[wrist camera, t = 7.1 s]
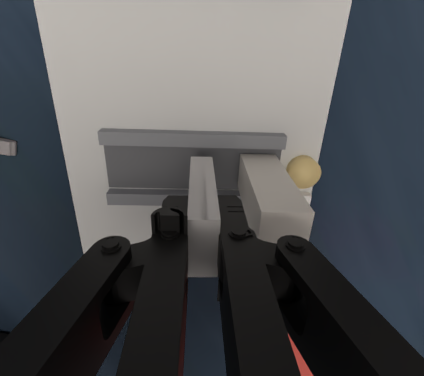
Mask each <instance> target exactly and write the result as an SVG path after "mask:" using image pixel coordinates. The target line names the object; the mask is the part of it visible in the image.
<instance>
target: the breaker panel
mask: <svg viewBox="0 0 424 376" xmlns="http://www.w3.org/2000/svg"><path fill="white" fill-rule="evenodd" d="M351 3H352V0H34V5H35V10H36V15H37V20H38V25H39V30H40V35H41V40H42V45H43V50H44V55H45V61H46V66H47V71H48V76H49V81H50V86H51V91H52V96H53V101H54V106H55V111H56V116H57V122H58V127H59V132H60V137H61V142H62V147H63V152H64V157H65V162H66V167H67V172H68V178H69V183H70V188H71V193H72V198H73V203H74V208H75V213H76V218H77V223H78V228H79V233H80V239H81V244H82V249H83V254H85V253H86V252H87V251H88V249H89V248H90V247H91V246H92V245H93V244H94V243H96V242H97V241H98V240H100V239H102V238H105V237H108V236H122V237H125V238H127V239H128V240H129V241H130V244H134V243H139V242H142V241H145V240H147V239H149V238H151V236H152V227H151V214H152V213H153V211H155V210H157V209H159V208H162V203H163V200H164V199H165V198H166V197H167V196H168V195H189V178H190V162H191V157H212V158H213V166H214V173H215V181H216V188H217V195H236V196H237V197H238V198H239V199H240V200H241V196H240V193H239V189H238V176H239V164H240V154H273V155H276V156H277V158H278V159H279V161H280V162H281V164H282V165H283V166H284V168H285V169H286V171H287V172H288V174H289V175H290V177H291V178H292V180H293V181H294V183H295V184H296V186H297V187H298V189H299V190H300V192H301V193H302V195H303V196H304V197H305V199H306V200H307V202H308V203H309V205H310V202H311V197H312V195H311V193H312V188H313V185H315V184H316V183H317V182H318V180H319V179H320V176H321V168H320V166H319V164H318V159H319V155H320V150H321V145H322V140H323V136H324V131H325V126H326V121H327V117H328V112H329V107H330V102H331V98H332V93H333V88H334V83H335V79H336V74H337V69H338V64H339V60H340V55H341V50H342V45H343V41H344V36H345V31H346V26H347V22H348V17H349V12H350V7H351ZM241 201H242V200H241Z"/></svg>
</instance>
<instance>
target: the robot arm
mask: <svg viewBox="0 0 424 376" xmlns="http://www.w3.org/2000/svg"><path fill="white" fill-rule="evenodd" d="M151 227H152V236H151V238H149V239H147V240H145V241H142V242H139V243H134V244H130V241H129V240H128V239H127V238H125V237H122V236H108V237H105V238H102V239H100V240H98V241H97V242H96V243H94V244H93V245H92V246H91V247H90V248H89V249H88V251H87V252H86V253H85V254H84V255H83V256H82V257H81V258H80V259H79V260H78V261H77V262H76V263H75V264H74V265H73V266H72V268H71V269H70V270H69V271H68V272H67V273H66V274H65V275H64V276H63V277H62V278H61V279H60V280H59V281H58V282H57V284H56V285H55V286H54V287H53V288H52V289H51V290H50V291H49V292H48V293H47V294H46V295H45V296H44V297H43V298H42V299H41V301H40V302H39V303H38V304H37V305H36V306H35V307H34V308H33V309H32V310H31V311H30V312H29V313H28V314H27V315H26V317H25V318H24V319H23V320H22V321H21V322H20V323H19V324H18V325H17V326H16V327H15V328H14V329H13V330H12V331H11V333H10V334H5V333H0V376H96V374H97V372H98V370H99V369H100V367H101V365H102V363H103V361H104V360H105V358H106V356H107V354H108V353H109V351H110V349H111V347H112V345H113V344H114V342H115V340H116V338H117V336H118V335H119V333H120V331H121V329H122V327H123V326H124V324H125V322H126V320H127V319H128V317H129V315H130V313H131V311H132V310H133V311H132V315H131V318H130V322H129V326H128V330H127V334H126V338H125V342H124V346H123V350H122V354H121V358H120V362H119V365H118V369H117V373H116V376H183V368H184V349H185V330H186V312H187V293H188V277H219V281H218V298H217V301H220V311H221V321H222V332H223V342H224V352H225V363H226V373H227V376H301V374H300V370H299V367H298V364H297V361H296V358H295V355H294V352H293V349H292V345H291V342H290V339H289V336H290V338H291V339H292V341H293V343H294V344H295V346H296V348H297V349H298V351H299V353H300V354H301V356H302V358H303V359H304V361H305V363H306V364H307V366H308V368H309V369H310V371H311V373H312V374H313V376H424V358H423V357H422V356H421V355H420V354H419V353H418V352H417V351H416V350H415V349H414V348H413V347H412V346H411V345H410V344H409V343H408V342H407V341H406V340H405V339H404V338H403V337H402V336H401V335H400V334H399V333H398V331H397V330H396V329H395V328H394V327H393V326H392V325H391V324H390V323H389V322H388V321H387V320H386V319H385V318H384V317H383V316H382V315H381V314H380V313H379V312H378V311H377V310H376V309H375V308H374V307H373V306H372V305H371V304H370V303H369V302H368V301H367V300H366V299H365V298H364V297H363V296H362V295H361V294H360V293H359V292H358V291H357V289H356V288H355V287H354V286H353V285H352V284H351V283H350V282H349V281H348V280H347V279H346V278H345V277H344V276H343V275H342V274H341V273H340V272H339V271H338V270H337V269H336V268H335V267H334V266H333V265H332V264H331V263H330V262H329V261H328V260H327V259H326V258H325V257H324V256H323V255H322V254H321V253H320V252H319V251H318V250H317V248H316V247H315V246H314V245H313V244H312V243H310V242H309V241H308V240H306V239H305V238H302V237H300V236H295V235H285V236H282V237H280V238H279V239H278V240H277V244H276V243H271V242H266V241H263V240H260V239H258V238H257V236H256V234H255V232H254V231H253V230H252V229H251V228H249V226H248V222H247V219H246V215H245V212H244V208H243V204H242V201H241V200H240V199H239V198H238V197H237V196H236V195H217V188H216V181H215V173H214V166H213V158H212V157H191V162H190V178H189V195H168V196H167V197H166V198H165V199H164V200H163V203H162V208H159V209H157V210H155V211H153V213H152V214H151ZM287 332H288V333H287ZM288 334H289V336H288Z"/></svg>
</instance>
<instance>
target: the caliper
mask: <svg viewBox="0 0 424 376" xmlns="http://www.w3.org/2000/svg"><path fill="white" fill-rule="evenodd" d="M16 152H17V142H16V141H14V140H9V139H4V138H0V154H2V155H8V156H10V155H14V156H15V155H16Z"/></svg>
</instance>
